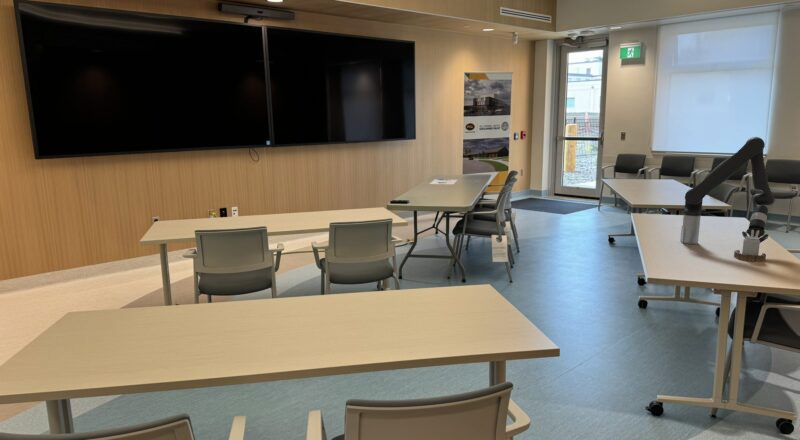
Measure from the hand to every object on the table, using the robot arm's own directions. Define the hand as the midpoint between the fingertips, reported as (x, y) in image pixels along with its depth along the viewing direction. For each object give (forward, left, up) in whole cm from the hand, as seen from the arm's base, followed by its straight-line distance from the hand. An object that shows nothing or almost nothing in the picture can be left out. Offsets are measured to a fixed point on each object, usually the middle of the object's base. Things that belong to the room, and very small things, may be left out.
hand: (752, 247), depth 298 cm
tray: (-2, -2, -5) cm, 6 cm away
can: (-2, -4, -6) cm, 7 cm away
